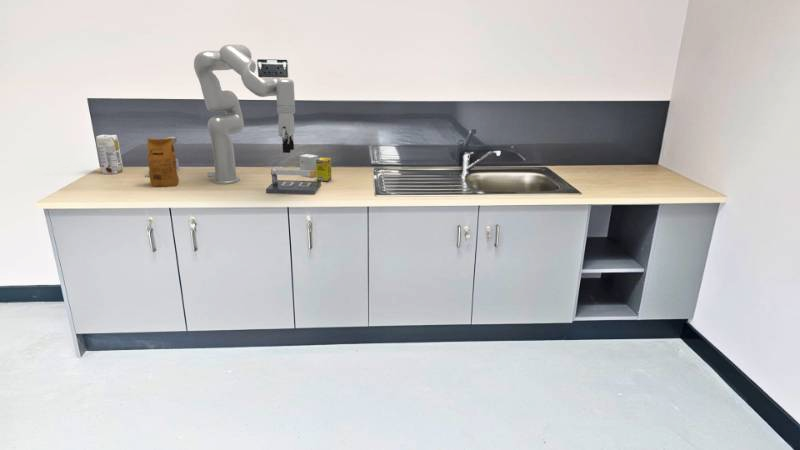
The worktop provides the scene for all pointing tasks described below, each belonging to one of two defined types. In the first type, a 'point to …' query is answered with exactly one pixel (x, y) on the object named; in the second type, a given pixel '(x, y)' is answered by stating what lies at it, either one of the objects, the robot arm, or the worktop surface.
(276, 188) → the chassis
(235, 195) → the worktop surface
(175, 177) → the coffee package
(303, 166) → the small box
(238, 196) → the worktop surface
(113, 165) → the white flour bag
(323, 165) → the supplement box
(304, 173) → the cable arm
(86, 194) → the worktop surface
